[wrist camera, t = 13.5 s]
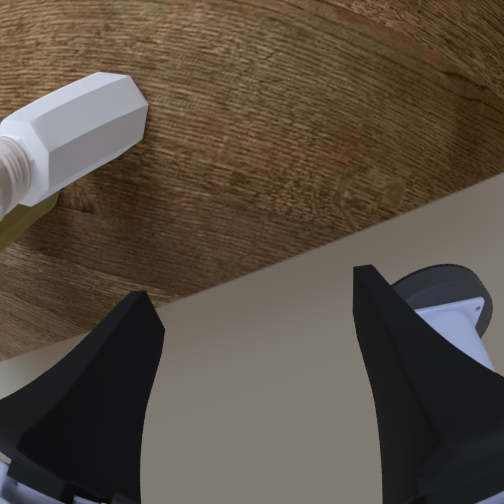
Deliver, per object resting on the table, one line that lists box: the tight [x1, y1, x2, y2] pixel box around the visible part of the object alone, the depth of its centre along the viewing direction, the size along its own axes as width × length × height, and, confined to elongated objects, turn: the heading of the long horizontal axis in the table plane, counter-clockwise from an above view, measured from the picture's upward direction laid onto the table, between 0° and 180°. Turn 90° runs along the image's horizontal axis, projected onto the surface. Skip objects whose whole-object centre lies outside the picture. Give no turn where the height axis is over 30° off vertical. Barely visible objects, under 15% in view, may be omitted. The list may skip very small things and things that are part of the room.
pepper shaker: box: [0, 72, 149, 221], centre depth 12 cm, size 5×5×11 cm
